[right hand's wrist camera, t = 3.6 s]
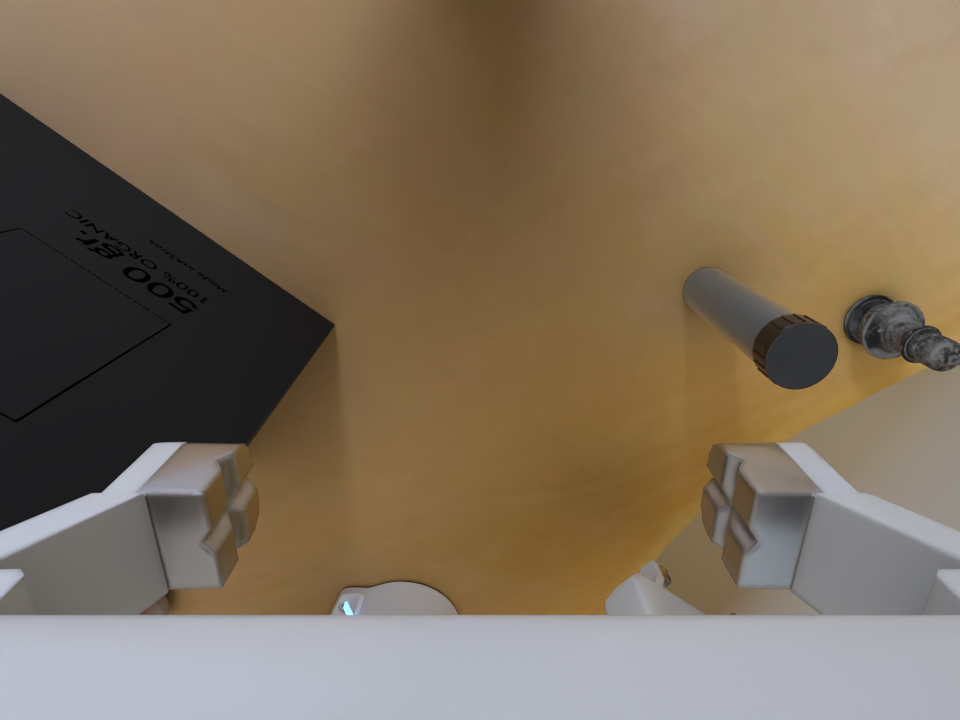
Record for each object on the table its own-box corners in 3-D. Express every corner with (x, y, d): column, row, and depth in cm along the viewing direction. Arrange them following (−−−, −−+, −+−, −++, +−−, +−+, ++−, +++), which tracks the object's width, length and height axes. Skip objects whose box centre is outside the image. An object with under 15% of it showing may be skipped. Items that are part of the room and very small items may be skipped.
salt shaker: (912, 314, 59) (1013, 356, 48) (866, 357, 61) (953, 408, 50) (874, 280, 58) (968, 316, 47) (828, 325, 59) (909, 370, 48)
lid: (806, 382, 44) (823, 395, 42) (741, 373, 44) (754, 385, 42) (832, 318, 42) (850, 328, 40) (764, 308, 42) (779, 317, 40)
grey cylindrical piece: (721, 315, 59) (817, 389, 42) (677, 308, 59) (756, 380, 42) (735, 270, 58) (842, 329, 41) (690, 263, 57) (778, 319, 40)
